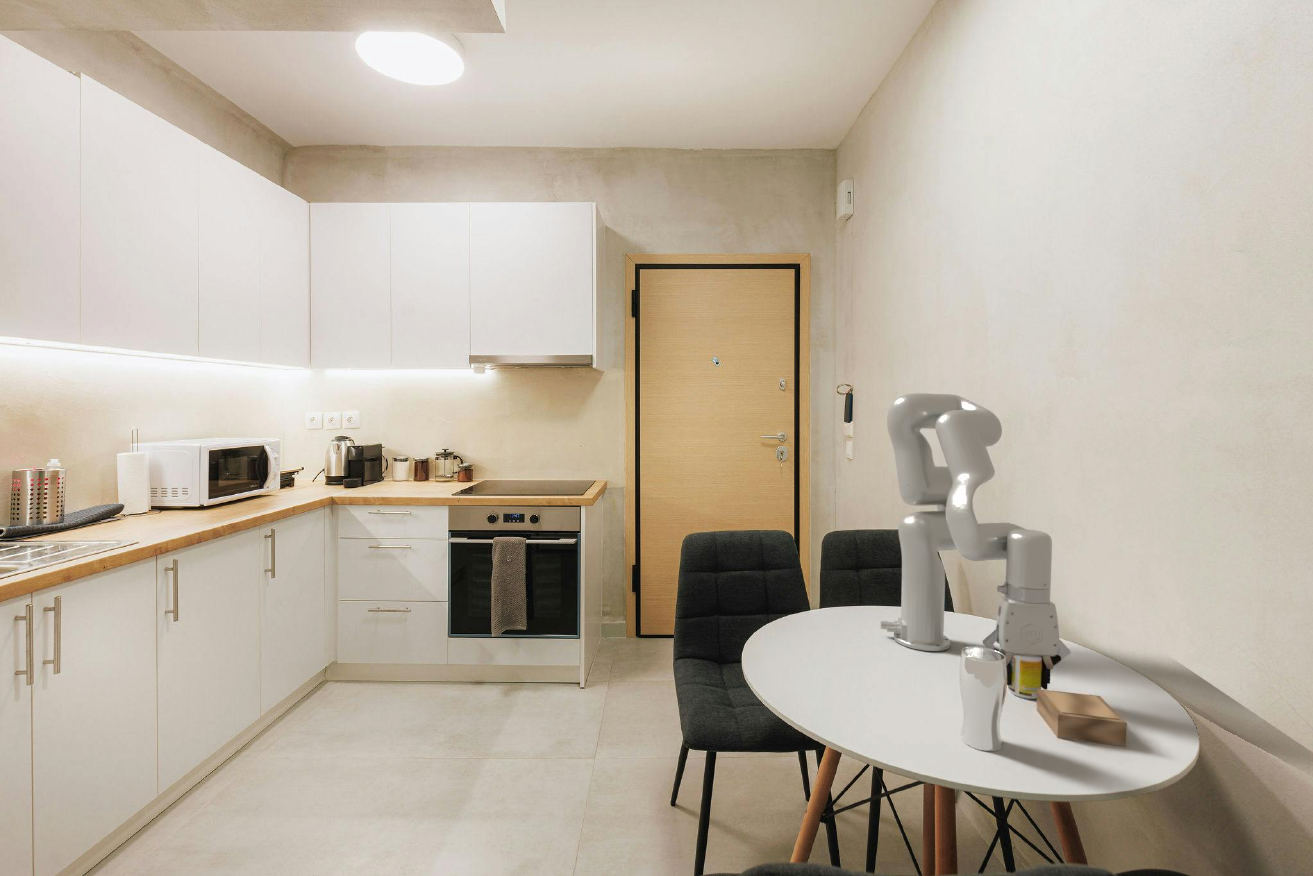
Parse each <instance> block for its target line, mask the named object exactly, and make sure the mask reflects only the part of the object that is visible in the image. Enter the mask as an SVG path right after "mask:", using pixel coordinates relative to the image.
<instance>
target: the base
mask: <svg viewBox="0 0 1313 876" xmlns="http://www.w3.org/2000/svg"><path fill="white" fill-rule="evenodd" d="M1036 711H1037V712H1038V714H1039V715H1040V717H1041V718H1042V719H1043V721H1044V722H1045V723H1046V725H1047V726H1048V727H1049V728H1050V729H1051V730H1050V731H1052V732H1053V734H1054V735H1055V736H1056V738H1058V739H1065V740H1074V741H1081V742H1089V743H1096V744H1103V745H1104V744H1105V745H1111V746H1120V747H1126V746H1127V732H1128V731H1127V729H1128V728H1127V727H1128V726H1127V724H1128V722H1127V721H1126V720H1125V719H1124V718H1123V717H1122V716H1121V715H1120V714H1118V712H1116V710H1115V709H1114V708H1112V706H1110V705H1109V703H1107V702H1106V701H1105V700H1104V698H1102V697H1101V696H1100V695H1095V694H1094V695H1093V694H1087V693H1076V692H1067V691H1061V690H1060V691H1057V690H1048V689H1043V688H1041V689H1037V698H1036Z"/></svg>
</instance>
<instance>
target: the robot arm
mask: <svg viewBox="0 0 1313 876" xmlns="http://www.w3.org/2000/svg"><path fill="white" fill-rule="evenodd" d="M886 427H887V431H888V435H889V438H890V441H891V445H892V448H893V451H894V461H895V466H896V473H897V480H898V481H897V482H898V488H899V493H900V497H901V499H902V501H903V502H904V503H906V504H907V505H910V506H917V507H919V506H921V507H922V506H924V507H925V506H929V507H930V506H936V509H937V510H923V511H914V512H910V513H908V514H906V515H905V516H904V517H902V518H901V520H900V522H899V523H898V529H897V530H898V539H899V544H900V552H901V596H900V598H901V599H900V600H901V603H900V617H898V618H897V620H893V622H892V621H886V620H880V624H879V627H880V628H879V629H880V630H886V633H887V632H888V633H893V640H894V641H896V643H898V644H899V645H901V646H904V647H906V648H910V649H913V650H914V649H915V650H917V651H918V650H919V651H925V652H941V651H946V650H948V649H950V647H951V639H949V637H948V636H946V635H945V634H944V632H945V630H944V629H945V627H944V624H945V598H946V596H945V594H946V593H945V591H946V570H945V569H946V568H945V567H944V564H943V562H942V560H941V558H940V556H939V553H938V552H941V551H942V552H943V551H954V550H957V552H958V553H959V554H960V556H962V557H963V558H964V559H966V560H969V561H974V562H983V561H995V560H997V561H998V560H1000V561H1001V560H1005V561H1006V562H1005V581H1004V584H1002V585H997V587H996V589H997V592H998V593H1002V594H1004V596H1001V598H1000V602H999V604H998V605H999V606H998V611H997V616H996V624H995V629H994V630H993V631H992V632H990V634H989V635H987V636H986V637H985V638H984V639H983V640H982V644H983V645H984V647H985V648H990V649H993V650H996V651H999V652H1001V653H1002V654H1004V655H1005V656H1006V668H1007V686H1008V685H1011V675H1012V666H1011V665H1010V659H1011V657H1012V655H1013V653H1017V654H1027V655H1038V656H1042V676H1041V689H1042V690H1048V685H1049V684H1050V685H1051V670H1053V668H1054V666H1056V665H1057V664H1059V663H1060V662H1061V661H1062V659H1065V658H1066V657H1068V656H1070V654H1071V650H1070V649H1069V648H1068V647H1067V646H1066V644H1065V643H1064V642H1063V641H1062V640H1061V639H1060V630H1059V619H1058V612H1057V607H1056V604H1055V603H1054V602H1052V601H1051V587H1052V586H1051V584H1052V583H1051V581H1052V559H1053V558H1052V557H1053V556H1052V553H1053V541H1052V537H1051V536H1050V534H1049V533H1046V532H1044V531H1041V530H1036V529H1035V530H1034V529H1027V528H1026V527H1025V528H1024V527H1022V526H1019V525H1017V524H1015V523H1010V522H985V523H982V522H981V523H979V522H978V520H977V517H976V515H975V511H974V504H973V503H974V502H973V500H974V495H975V492H976V491H977V489H978V488H979V487H980V486H981V485H983V484H985V483H988V482H989V481H990V480H991V479H992V478H994V476H995V474H996V473H995V472H996V470H995V468H994V465H993V462H992V459H991V457H990V454H989V452H988V449H987V447H991V446H994V445H996V444H997V443H998V442H999V440H1000V439H1001V437H1002V433H1003V428H1002V427H1003V426H1002V423H1001V422H1000V419H999V418H998V416H997V415H996V414H995V413H994V412H993V411H991V410H989V409H987V408H985V407H984V406H981V405H979V404H977V403H975V402H972V401H970V400H968V399H966V398H964V397H962V396H959V395H957V394H952V393H928V392H927V393H923V392H921V393H920V392H919V393H918V392H915V393H908V394H907V393H906V394H903V395H900V396H899V397H897V398H896V399H894V401H893V402H892V403H891V405H890V407H889V409H888V412H887V416H886ZM922 429H931V430H932V429H933V430H934V429H935V433H936V436H937V439H938V441H939V444H940V448H941V451H942V454H943V457H944V460H945V462H946V465H947V466H936V465H935V461H934V457H933V456H934V455H933V450H932V447H931V445H930V442H929V441H928V439H927V438H926V437H925V436H924V434H923V433H922V432H921V430H922ZM995 643H997V644H999V647H1000V648H1001V649H1000V650H999V649H998V648H997V646H995V645H994V644H995Z"/></svg>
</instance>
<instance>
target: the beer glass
mask: <svg viewBox="0 0 1313 876" xmlns="http://www.w3.org/2000/svg"><path fill="white" fill-rule="evenodd" d="M999 651H1000V650H999ZM999 651H996V650H993V649H990V648H987V647H986V646H975V645H972V646H965V647H962V648H961V655H960V663H959V687H960V688H959V689H960V696H961V702H962V709H963V723H962V727H961V732H960V740H961V741H962V742H963V743H965V745H967V746H968V747H970V748H973V749H975V750H979V751H981V752H997V751H999V750H1001V749H1002V746H1003V745H1002V743H1003V742H1002V738H1001V737H1002V736H1001V731H1000V727H1001V726H1000V725H1001V717H1002V713H1003V708H1004V705H1005V699H1006V696H1007V688H1008V685H1007V668H1006V656H1005V655H1004V654H1002V653H1001V652H999Z"/></svg>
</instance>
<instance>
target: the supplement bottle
mask: <svg viewBox="0 0 1313 876" xmlns="http://www.w3.org/2000/svg"><path fill="white" fill-rule="evenodd" d="M1010 665H1011V666H1012V675H1011V685H1007V688H1008V691H1009V692H1010V693H1011V694H1012V695H1014V696H1017V697H1018V698H1023V699H1027V700H1037V689H1042V687H1041V676H1042V656H1038V655H1027V654H1017V653H1013V655H1012V657H1011V659H1010Z"/></svg>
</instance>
